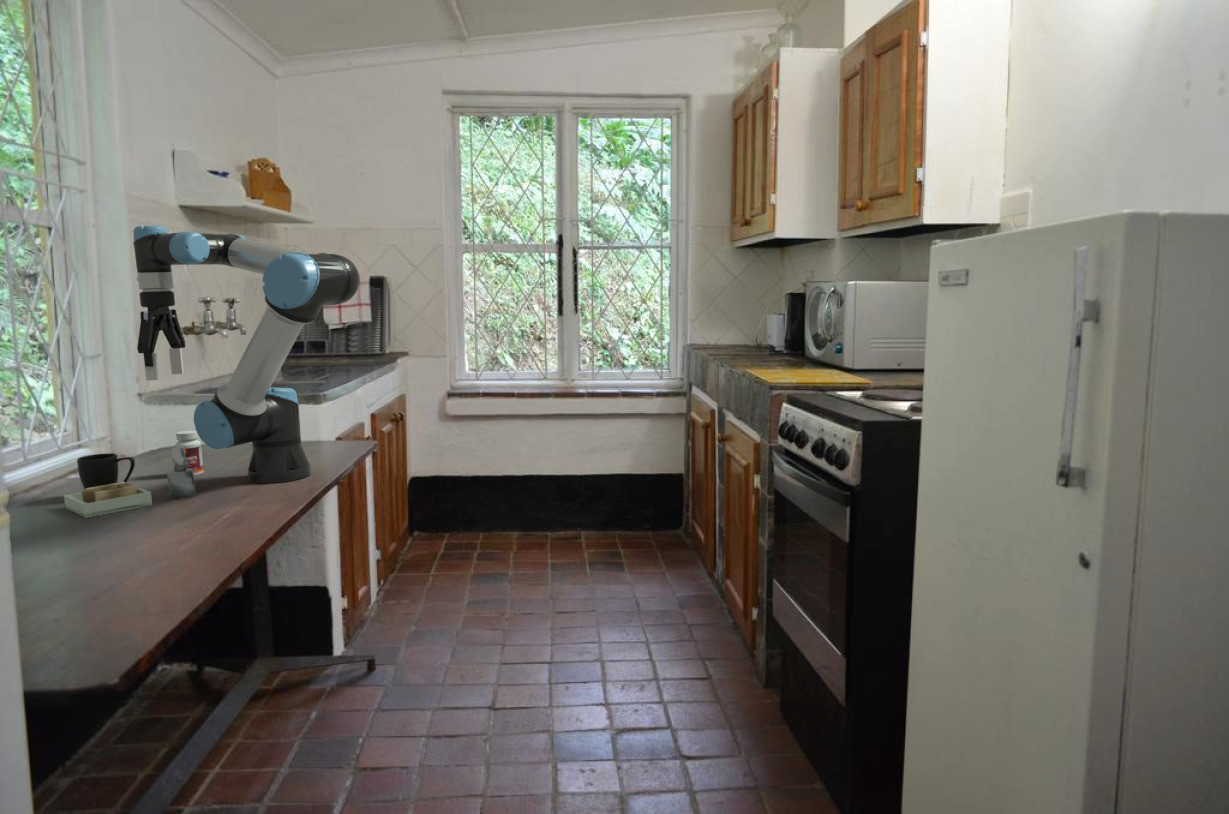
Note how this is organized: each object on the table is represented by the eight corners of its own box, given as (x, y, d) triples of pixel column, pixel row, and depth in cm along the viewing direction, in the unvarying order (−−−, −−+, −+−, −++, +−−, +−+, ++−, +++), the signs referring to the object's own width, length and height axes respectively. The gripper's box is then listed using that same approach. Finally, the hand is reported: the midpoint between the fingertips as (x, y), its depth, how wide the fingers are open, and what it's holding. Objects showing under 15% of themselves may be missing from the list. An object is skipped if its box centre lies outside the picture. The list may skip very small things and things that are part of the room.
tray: (130, 496, 209) (128, 483, 209) (152, 504, 200) (150, 492, 200) (65, 508, 199) (63, 495, 199) (85, 518, 190) (84, 504, 190)
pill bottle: (177, 478, 228) (172, 434, 226) (178, 473, 234) (174, 431, 232) (203, 475, 230) (199, 432, 229) (204, 470, 236) (200, 429, 234)
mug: (130, 497, 208) (126, 458, 206) (75, 501, 206) (70, 461, 205) (143, 489, 216) (139, 451, 214) (90, 493, 214) (85, 454, 213)
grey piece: (200, 492, 211) (195, 445, 209) (189, 498, 205) (184, 449, 204) (176, 493, 211) (171, 445, 209) (165, 499, 205) (160, 450, 204)
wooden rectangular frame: (125, 496, 206) (123, 481, 205) (138, 501, 200) (136, 486, 200) (79, 504, 199) (77, 489, 198) (91, 510, 193) (89, 494, 193)
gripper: (164, 290, 228) (172, 372, 231) (114, 291, 203) (124, 383, 206) (193, 289, 228) (202, 371, 231) (147, 290, 203) (157, 382, 206)
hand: (165, 377), depth 219 cm, fingers open, 13 cm apart
